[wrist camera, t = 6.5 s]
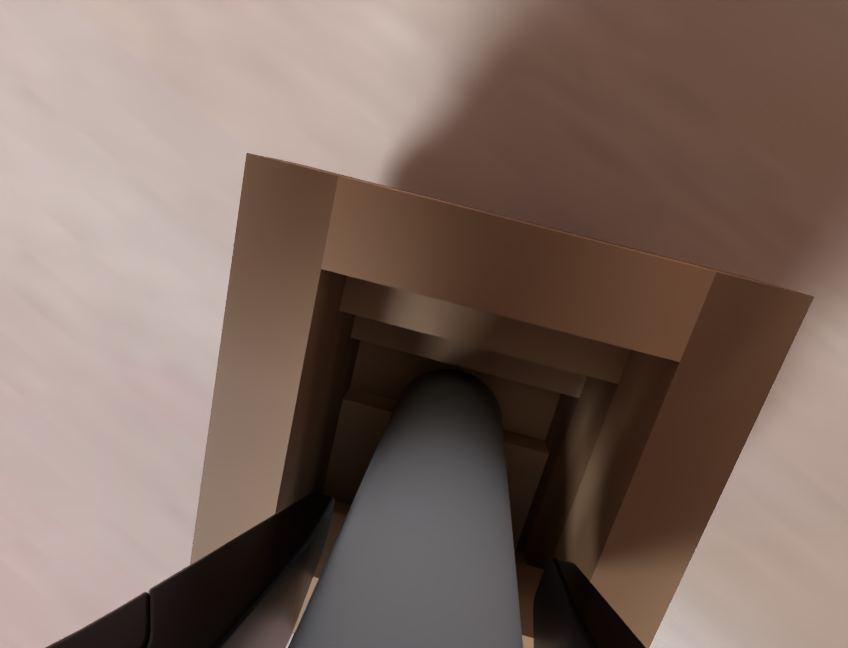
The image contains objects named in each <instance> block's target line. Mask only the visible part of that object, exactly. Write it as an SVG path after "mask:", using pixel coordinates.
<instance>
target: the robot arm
mask: <svg viewBox="0 0 848 648" xmlns="http://www.w3.org/2000/svg"><path fill="white" fill-rule="evenodd" d="M334 502H335V500H334V497H333V496H330V495H326V494H323V493H319V492H311V493H309V494H307V495H306V496H304V497H302V498H301V499H299V500H297V501H296V502H294V503H292V504H291V505H289V506H287V507H286V508H284V509H282V510H281V511H279V512H277V513H276V514H274V515H272V516H271V517H269V518H267V519H266V520H264V521H262V522H261V523H259V524H257V525H256V526H254V527H252V528H251V529H249V530H247V531H246V532H244V533H242V534H241V535H239V536H237V537H236V538H234V539H232V540H231V541H229V542H227V543H226V544H224V545H223V546H221V547H219V548H218V549H216V550H214V551H213V552H211V553H209V554H208V555H206V556H204V557H203V558H201V559H199V560H198V561H196V562H194V563H193V564H191V565H189V566H188V567H186V568H184V569H183V570H181V571H179V572H178V573H176V574H174V575H173V576H171V577H169V578H168V579H166V580H164V581H163V582H161V583H159V584H158V585H156V586H154V587H153V588H151V589H150V590H149V594H148V593H147V592H144V593H142V594H141V595H139V596H137V597H136V598H134V599H132V600H131V601H129V602H127V603H126V604H124V605H122V606H121V607H119V608H117V609H116V610H114V611H112V612H110V613H109V614H107V615H105V616H103V617H102V618H100V619H98V620H96V621H95V622H93V623H91V624H89V625H88V626H86V627H84V628H82V629H80V630H79V631H77V632H75V633H73V634H71V635H69V636H67V637H65V638H63V639H61V640H59V641H57V642H55V643H53V644H52V645H50V646H48V647H46V648H285V647H286V645H287V643H288V641H289V639H290V636H291V634H292V632H293V629H294V627H295V624H296V622H297V619H298V617H299V614H300V611H301V609H302V606H303V603H304V600H305V598H306V595H307V592H308V589H309V587H310V584H311V581H312V579H313V576H314V573H315V570H316V568H317V565H318V562H319V559H320V557H321V554H322V551H323V548H324V545H325V542H326V539H327V535H328V530H329V526H330V521H331V517H332V512H333V508H334ZM533 642H534V648H646V647H645V646H644V645H643V643H642V642H641V641H640V640H639V639H638V637H637V636H636V635H635V634H634V633H633V632H632V630H631V629H630V628H629V627H628V626H627V624H626V623H625V622H624V621H623V620H622V619H621V617H620V616H619V615H618V614H617V613H616V611H615V610H614V609H613V608H612V607H611V606H610V604H609V603H608V602H607V601H606V600H605V599H604V597H603V596H602V595H601V594H600V593H599V591H598V590H597V589H596V588H595V587H594V586H593V584H592V583H591V582H590V581H589V580H588V578H587V577H586V576H585V575H584V574H583V573H582V571H581V570H580V569H579V568H578V567H577V566H576V565H575V564H574V563H573V562H570V561H566V560H563V559H559V558H555V557H552V558H550V559H549V560H548V562H547V564H546V566H545V569H544V572H543V574H542V577H541V580H540V582H539V585H538V588H537V590H536V593H535V597H534V603H533Z"/></svg>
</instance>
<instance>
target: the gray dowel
mask: <svg viewBox="0 0 848 648" xmlns="http://www.w3.org/2000/svg"><path fill="white" fill-rule="evenodd" d="M288 648H523V641H522V630H521V619H520V608H519V597H518V586H517V576H516V565H515V554H514V543H513V532H512V521H511V511H510V500H509V489H508V478H507V467H506V456H505V445H504V435H503V424H502V414H501V409H500V406H499V403H498V401H497V399H496V397H495V395H494V394H493V392H492V391H491V390H490V388H489V387H488V386H487V385H486V384H485V383H483V382H482V381H481V380H480V379H478V378H477V377H475V376H473V375H471V374H469V373H466V372H463V371H460V370H455V369H438V370H433V371H430V372H426V373H424V374H422V375H420V376H418V377H417V378H415V379H414V380H413V381H411V382H410V383H409V384H408V385H407V386H406V387H405V389H404V390H403V392H402V393H401V395H400V397H399V399H398V401H397V403H396V406H395V408H394V410H393V412H392V415H391V417H390V419H389V421H388V424H387V426H386V428H385V430H384V433H383V435H382V437H381V440H380V442H379V444H378V446H377V449H376V451H375V453H374V455H373V458H372V460H371V462H370V464H369V467H368V469H367V471H366V473H365V476H364V478H363V480H362V482H361V485H360V487H359V489H358V491H357V494H356V496H355V498H354V500H353V503H352V505H351V507H350V509H349V512H348V514H347V516H346V518H345V521H344V523H343V525H342V527H341V530H340V532H339V534H338V536H337V539H336V541H335V543H334V546H333V548H332V550H331V552H330V555H329V557H328V559H327V561H326V564H325V566H324V568H323V570H322V573H321V575H320V577H319V579H318V582H317V584H316V586H315V588H314V591H313V593H312V595H311V597H310V600H309V602H308V604H307V606H306V609H305V611H304V613H303V615H302V618H301V620H300V622H299V624H298V627H297V629H296V631H295V633H294V636H293V638H292V640H291V642H290V645H289V647H288Z"/></svg>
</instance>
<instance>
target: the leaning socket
mask: <svg viewBox="0 0 848 648" xmlns="http://www.w3.org/2000/svg"><path fill="white" fill-rule="evenodd" d="M813 298H814V297H812V296H809V295H805V294H802V293H798V292H795V291H791V290H788V289H784V288H781V287H777V286H774V285H770V284H767V283H763V282H760V281H756V280H753V279H749V278H746V277H742V276H738V275H734V274H730V273H726V272H722V271H719V270H715V269H711V268H707V267H703V266H699V265H695V264H691V263H687V262H683V261H679V260H675V259H671V258H667V257H663V256H659V255H655V254H651V253H648V252H644V251H640V250H636V249H632V248H628V247H624V246H620V245H616V244H612V243H608V242H604V241H600V240H596V239H592V238H588V237H584V236H581V235H577V234H573V233H569V232H565V231H561V230H557V229H553V228H549V227H545V226H541V225H537V224H533V223H529V222H525V221H521V220H517V219H513V218H510V217H506V216H502V215H498V214H494V213H490V212H486V211H482V210H478V209H474V208H470V207H466V206H462V205H458V204H454V203H450V202H446V201H442V200H439V199H435V198H431V197H427V196H423V195H419V194H415V193H411V192H407V191H403V190H399V189H395V188H391V187H387V186H383V185H379V184H375V183H372V182H368V181H364V180H360V179H356V178H352V177H348V176H344V175H340V174H336V173H332V172H328V171H324V170H320V169H316V168H312V167H308V166H304V165H301V164H297V163H293V162H288V161H283V160H278V159H273V158H268V157H264V156H259V155H254V154H249V153H247V155H246V162H245V169H244V177H243V184H242V191H241V198H240V206H239V213H238V220H237V227H236V235H235V242H234V249H233V256H232V264H231V271H230V278H229V286H228V293H227V300H226V307H225V315H224V322H223V329H222V336H221V344H220V351H219V358H218V366H217V373H216V380H215V387H214V395H213V402H212V409H211V416H210V424H209V431H208V438H207V445H206V453H205V460H204V467H203V475H202V482H201V489H200V496H199V504H198V511H197V518H196V525H195V533H194V540H193V547H192V554H191V562H190V565H191V564H193V563H194V562H196V561H198V560H199V559H201V558H203V557H204V556H206V555H208V554H209V553H211V552H213V551H214V550H216V549H218V548H219V547H221V546H223V545H224V544H226V543H227V542H229V541H231V540H232V539H234V538H236V537H237V536H239V535H241V534H242V533H244V532H246V531H247V530H249V529H251V528H252V527H254V526H256V525H257V524H259V523H261V522H262V521H264V520H266V519H267V518H269V517H271V516H272V515H274V514H276V513H277V512H279V511H281V510H282V509H284V508H286V507H287V506H289V505H291V504H292V503H294V502H296V501H297V500H299V499H301V498H302V497H304V496H306V495H307V494H309V493H311V492H319V493H323V494H326V495H330V496H333V497H334V500H335V502H334V508H333V512H332V517H331V521H330V526H329V530H328V535H327V539H326V542H325V545H324V548H323V551H322V554H321V557H320V559H319V562H318V565H317V568H316V570H315V573H314V576H313V579H312V581H311V584H310V587H309V589H308V592H307V595H306V598H305V600H304V603H303V606H302V609H301V611H300V614H299V617H298V619H297V622H296V624H295V627H294V629H293V632H292V633H295V631H296V629H297V627H298V624H299V622H300V620H301V618H302V615H303V613H304V611H305V609H306V606H307V604H308V602H309V600H310V597H311V595H312V593H313V591H314V588H315V586H316V584H317V582H318V579H319V577H320V575H321V573H322V570H323V568H324V566H325V564H326V561H327V559H328V557H329V555H330V552H331V550H332V548H333V546H334V543H335V541H336V539H337V536H338V534H339V532H340V530H341V527H342V525H343V523H344V521H345V518H346V516H347V514H348V512H349V509H350V507H351V505H352V503H353V500H354V498H355V496H356V494H357V491H358V489H359V487H360V485H361V482H362V480H363V478H364V476H365V473H366V471H367V469H368V467H369V464H370V462H371V460H372V458H373V455H374V453H375V451H376V449H377V446H378V444H379V442H380V440H381V437H382V435H383V433H384V430H385V428H386V426H387V424H388V421H389V419H390V417H391V415H392V412H393V410H394V408H395V406H396V403H397V401H398V399H399V397H400V395H401V393H402V392H403V390H404V389H405V387H406V386H407V385H408V384H409V383H410V382H411V381H413V380H414V379H415V378H417V377H418V376H420V375H422V374H424V373H426V372H430V371H433V370H438V369H455V370H460V371H463V372H466V373H469V374H471V375H473V376H475V377H477V378H478V379H480V380H481V381H482V382H483V383H485V384H486V385H487V386H488V387H489V388H490V390H491V391H492V392H493V394H494V395H495V397H496V399H497V401H498V403H499V406H500V409H501V414H502V424H503V435H504V445H505V456H506V467H507V478H508V489H509V500H510V511H511V521H512V532H513V543H514V554H515V565H516V576H517V586H518V597H519V608H520V619H521V630H522V641H523V648H534V642H533V603H534V597H535V593H536V590H537V588H538V585H539V582H540V580H541V577H542V574H543V572H544V569H545V566H546V564H547V562H548V560H549V559H550V558H552V557H555V558H559V559H563V560H566V561H570V562H573V563H574V564H575V565H576V566H577V567H578V568H579V569H580V570H581V571H582V573H583V574H584V575H585V576H586V577H587V578H588V580H589V581H590V582H591V583H592V584H593V586H594V587H595V588H596V589H597V590H598V591H599V593H600V594H601V595H602V596H603V597H604V599H605V600H606V601H607V602H608V603H609V604H610V606H611V607H612V608H613V609H614V610H615V611H616V613H617V614H618V615H619V616H620V617H621V619H622V620H623V621H624V622H625V623H626V624H627V626H628V627H629V628H630V629H631V630H632V632H633V633H634V634H635V635H636V636H637V637H638V639H639V640H640V641H641V642H642V643H643V645H644V646H645V647H646V648H649V647H650V645H651V643H652V640H653V638H654V636H655V634H656V632H657V630H658V628H659V626H660V623H661V621H662V619H663V617H664V615H665V613H666V611H667V609H668V606H669V604H670V602H671V600H672V598H673V596H674V594H675V591H676V589H677V587H678V585H679V583H680V581H681V579H682V577H683V574H684V572H685V570H686V568H687V566H688V564H689V562H690V560H691V557H692V555H693V553H694V551H695V549H696V547H697V545H698V543H699V540H700V538H701V536H702V534H703V532H704V530H705V528H706V526H707V523H708V521H709V519H710V517H711V515H712V513H713V511H714V508H715V506H716V504H717V502H718V500H719V498H720V496H721V494H722V491H723V489H724V487H725V485H726V483H727V481H728V479H729V477H730V474H731V472H732V470H733V468H734V466H735V464H736V462H737V460H738V457H739V455H740V453H741V451H742V449H743V447H744V445H745V443H746V440H747V438H748V436H749V434H750V432H751V430H752V428H753V425H754V423H755V421H756V419H757V417H758V415H759V413H760V411H761V408H762V406H763V404H764V402H765V400H766V398H767V396H768V394H769V391H770V389H771V387H772V385H773V383H774V381H775V379H776V377H777V374H778V372H779V370H780V368H781V366H782V364H783V362H784V359H785V357H786V355H787V353H788V351H789V349H790V347H791V345H792V342H793V340H794V338H795V336H796V334H797V332H798V330H799V328H800V325H801V323H802V321H803V319H804V317H805V315H806V313H807V311H808V308H809V306H810V304H811V302H812V300H813Z"/></svg>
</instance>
